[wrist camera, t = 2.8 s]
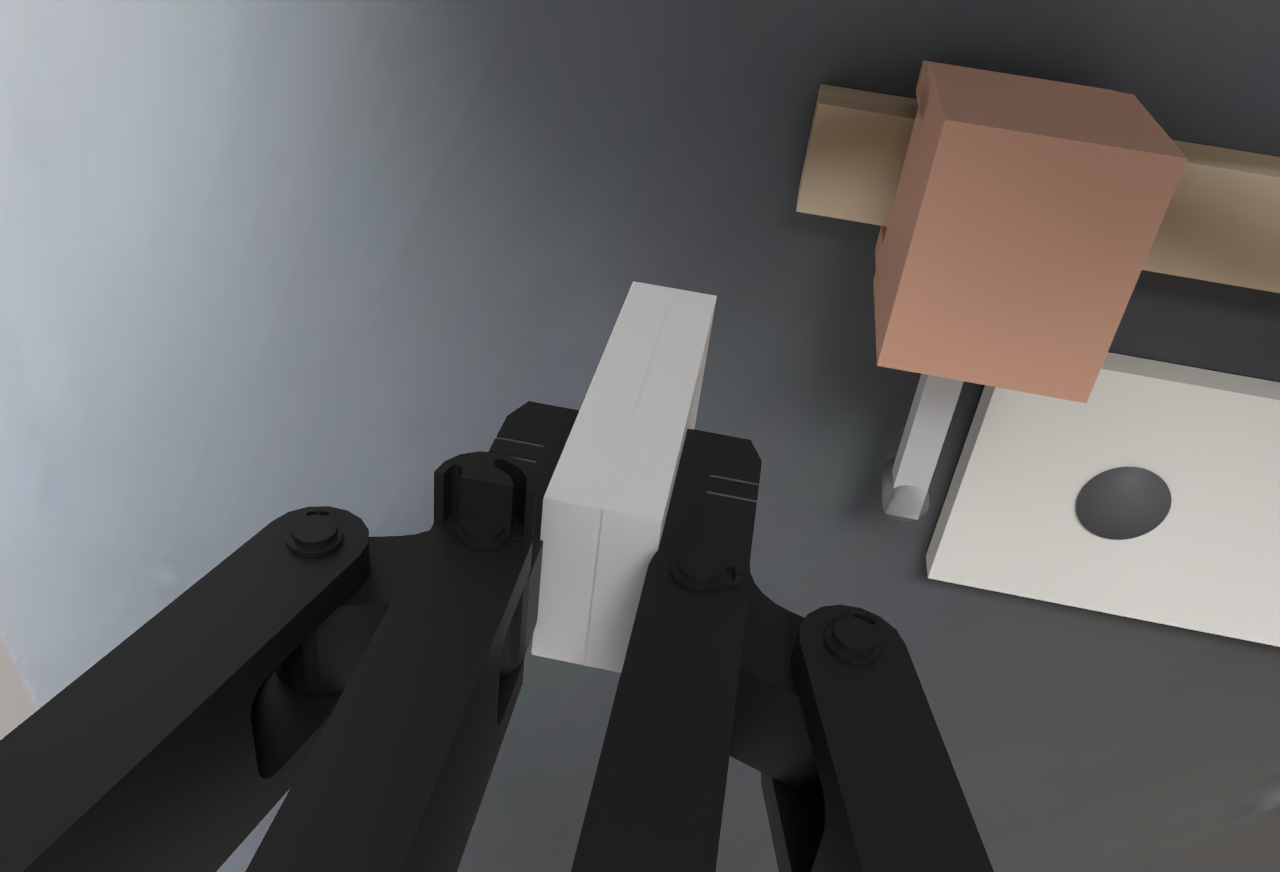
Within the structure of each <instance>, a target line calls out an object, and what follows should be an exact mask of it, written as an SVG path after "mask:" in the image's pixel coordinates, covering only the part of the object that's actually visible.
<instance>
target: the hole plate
mask: <svg viewBox="0 0 1280 872" xmlns="http://www.w3.org/2000/svg"><path fill="white" fill-rule="evenodd" d="M926 565H927V575H928V578H930V579H935V580H940V581H945V582H950V583H955V584H961V585H966V586H971V587H976V588H981V589H986V590H991V591H996V592H1002V593H1007V594H1012V595H1017V596H1022V597H1027V598H1032V599H1037V600H1043V601H1048V602H1053V603H1058V604H1063V605H1068V606H1073V607H1078V608H1084V609H1089V610H1094V611H1099V612H1104V613H1109V614H1114V615H1119V616H1125V617H1130V618H1135V619H1140V620H1145V621H1150V622H1155V623H1160V624H1166V625H1171V626H1176V627H1181V628H1186V629H1191V630H1196V631H1201V632H1207V633H1212V634H1217V635H1222V636H1227V637H1232V638H1237V639H1242V640H1248V641H1253V642H1258V643H1263V644H1268V645H1273V646H1278V647H1280V382H1274V381H1268V380H1263V379H1257V378H1251V377H1246V376H1240V375H1234V374H1229V373H1223V372H1217V371H1212V370H1206V369H1200V368H1195V367H1189V366H1183V365H1177V364H1172V363H1166V362H1160V361H1155V360H1149V359H1143V358H1138V357H1132V356H1126V355H1121V354H1115V353H1109V352H1108V353H1107V355H1106V357H1105V360H1104V362H1103V365H1102V367H1101V369H1100V372H1099V374H1098V377H1097V379H1096V381H1095V384H1094V386H1093V389H1092V391H1091V394H1090V396H1089V398H1088V401H1087V403H1082V402H1076V401H1070V400H1065V399H1059V398H1054V397H1048V396H1043V395H1037V394H1032V393H1026V392H1020V391H1015V390H1009V389H1004V388H998V387H993V386H987V385H985V387H984V389H983V392H982V395H981V398H980V401H979V404H978V407H977V410H976V413H975V415H974V418H973V421H972V424H971V427H970V430H969V433H968V436H967V439H966V441H965V444H964V447H963V450H962V453H961V456H960V459H959V462H958V464H957V467H956V470H955V473H954V476H953V479H952V482H951V485H950V488H949V490H948V493H947V496H946V499H945V502H944V505H943V508H942V511H941V513H940V516H939V519H938V522H937V525H936V528H935V531H934V534H933V537H932V539H931V542H930V545H929V548H928V551H927V554H926Z"/></svg>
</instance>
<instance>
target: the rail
mask: <svg viewBox="0 0 1280 872" xmlns="http://www.w3.org/2000/svg"><path fill="white" fill-rule="evenodd" d="M918 107H919V106H918V101H917V99H913V98H906V97H900V96H894V95H888V94H881V93H875V92H869V91H862V90H856V89H850V88H844V87H837V86H831V85H825V84H820V88H819V93H818V97H817V102H816V107H815V112H814V117H813V122H812V127H811V132H810V137H809V141H808V146H807V151H806V156H805V161H804V166H803V171H802V176H801V181H800V185H799V193H798V201H797V209H796V212H802V213H808V214H814V215H820V216H826V217H832V218H838V219H844V220H850V221H856V222H862V223H867V224H873V225H879V226H885V227H887V226H888V222H889V218H890V214H891V211H892V207H893V203H894V199H895V195H896V191H897V188H898V184H899V180H900V176H901V172H902V168H903V164H904V161H905V157H906V153H907V149H908V145H909V141H910V137H911V134H912V130H913V126H914V122H915V118H916V114H917V110H918ZM1173 142H1174V143H1175V144H1176V145H1177V146H1178V147H1179V149H1180V150H1181V151H1182V152H1183V153H1184V155H1185V156H1186V157H1187V158H1188V160H1187V162H1186V165H1185V167H1184V170H1183V172H1182V174H1181V177H1180V179H1179V182H1178V184H1177V186H1176V189H1175V191H1174V194H1173V196H1172V198H1171V201H1170V203H1169V206H1168V208H1167V211H1166V213H1165V215H1164V218H1163V220H1162V223H1161V225H1160V227H1159V230H1158V232H1157V235H1156V237H1155V239H1154V242H1153V244H1152V247H1151V249H1150V251H1149V254H1148V256H1147V259H1146V261H1145V263H1144V266H1143V268H1142V270H1145V271H1151V272H1157V273H1163V274H1169V275H1175V276H1181V277H1187V278H1192V279H1198V280H1204V281H1210V282H1216V283H1222V284H1228V285H1234V286H1240V287H1246V288H1252V289H1257V290H1263V291H1269V292H1275V293H1280V157H1277V156H1271V155H1265V154H1258V153H1252V152H1246V151H1239V150H1233V149H1227V148H1221V147H1214V146H1208V145H1202V144H1195V143H1189V142H1183V141H1177V140H1173Z"/></svg>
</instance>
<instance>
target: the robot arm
mask: <svg viewBox="0 0 1280 872" xmlns="http://www.w3.org/2000/svg"><path fill="white" fill-rule="evenodd" d="M716 298H717V296H715V295H709V294H703V293H698V292H692V291H686V290H681V289H675V288H669V287H664V286H658V285H652V284H646V283H641V282H635V281H633V283H632V285H631V288H630V290H629V292H628V295H627V297H626V300H625V302H624V304H623V307H622V309H621V312H620V314H619V316H618V319H617V321H616V324H615V326H614V329H613V331H612V333H611V336H610V338H609V341H608V343H607V345H606V348H605V350H604V353H603V355H602V357H601V360H600V362H599V365H598V367H597V370H596V372H595V374H594V377H593V379H592V382H591V384H590V386H589V389H588V391H587V394H586V396H585V399H584V401H583V403H582V406H581V408H580V411H579V410H573V409H568V408H562V407H557V406H552V405H546V404H541V403H535V402H530V401H529V402H527V403H526V404H524V405H523V406H521V407H520V408H518V409H517V410H515V411H514V412H512V413H511V414H509V415H508V416H507V417H506V419H505V421H504V423H503V425H502V427H501V429H500V431H499V433H498V435H497V439H495V440H494V442H493V444H492V446H491V448H490V450H489V452H473V453H467V454H460V455H458V456H456V457H454V458H451V459H449V460H447V461H445V462H444V463H443V464H442V465H441V466H440V467H439V468H438V469H437V470H436V471H435V472H434V524H433V526H432V528H431V530H430V531H426V532H422V533H419V534H415V535H405V536H388V537H369V530H368V529H367V527H366V526H365V524H364V523H363V521H362V519H361V518H359V517H357V516H355V515H354V514H352V513H350V512H349V511H347V510H342V509H338V508H334V507H329V506H326V507H306V508H302V509H298V510H295V511H291V512H288V513H286V514H284V515H283V516H281V517H279V518H277V519H276V520H274V521H272V522H271V523H270V524H268V525H267V526H266V527H265V528H263V529H262V530H261V531H260V532H258V533H257V534H256V535H255V536H254V537H252V538H251V539H250V540H249V541H247V542H246V543H245V544H244V545H242V546H241V547H240V548H239V549H237V550H236V551H235V552H234V553H232V554H231V555H230V556H229V557H227V558H226V559H225V560H224V561H222V562H221V563H220V564H219V565H218V566H216V567H215V568H214V569H213V570H211V571H210V572H209V573H208V574H206V575H205V576H204V577H203V578H201V579H200V580H199V581H198V582H196V583H195V584H194V585H193V586H191V587H190V588H189V589H188V590H187V591H185V592H184V593H183V594H182V595H180V596H179V597H178V598H177V599H175V600H174V601H173V602H172V603H170V604H169V605H168V606H167V607H165V608H164V609H163V610H162V611H160V612H159V613H158V614H157V615H155V616H154V617H153V618H152V619H151V620H149V621H148V622H147V623H146V624H144V625H143V626H142V627H141V628H139V629H138V630H137V631H136V632H134V633H133V634H132V635H131V636H129V637H128V638H127V639H126V640H124V641H123V642H122V643H121V644H120V645H118V646H117V647H116V648H115V649H113V650H112V651H111V652H110V653H108V654H107V655H106V656H105V657H103V658H102V659H101V660H100V661H98V662H97V663H96V664H95V665H93V666H92V667H91V668H90V669H88V670H87V671H86V672H85V673H84V674H82V675H81V676H80V677H79V678H77V679H76V680H75V681H74V682H72V683H71V684H70V685H69V686H67V687H66V688H65V689H64V690H62V691H61V692H60V693H59V694H57V695H56V696H55V697H54V698H53V699H51V700H50V701H49V702H48V703H46V704H45V705H44V706H43V707H41V708H40V709H39V710H38V711H36V712H35V713H34V714H33V715H31V716H30V717H29V718H28V719H27V720H25V721H24V722H23V723H22V724H20V725H19V726H18V727H17V728H15V729H14V730H13V731H12V732H10V733H9V734H8V735H7V736H5V737H4V738H3V739H2V740H0V872H216V871H217V870H218V869H219V868H220V867H221V866H222V864H223V863H224V862H225V861H226V860H227V859H228V858H229V856H230V855H231V854H232V853H233V852H234V851H235V850H236V849H237V847H238V846H239V845H240V844H241V843H242V842H243V841H244V839H245V838H246V837H247V836H248V835H249V834H250V833H251V832H252V830H253V829H254V828H255V827H256V826H257V825H258V824H259V823H260V821H261V820H262V819H263V818H264V817H265V816H266V815H267V813H268V812H269V811H270V810H271V809H272V808H273V807H274V806H275V804H276V803H277V802H278V801H279V800H280V799H281V798H282V796H283V795H284V794H285V793H286V792H287V791H288V790H289V789H290V787H291V786H292V787H291V789H290V790H289V792H288V794H287V796H286V798H285V800H284V801H283V803H282V805H281V807H280V809H279V811H278V813H277V814H276V816H275V818H274V820H273V822H272V824H271V826H270V827H269V829H268V831H267V833H266V835H265V837H264V838H263V840H262V842H261V844H260V846H259V848H258V850H257V851H256V853H255V855H254V857H253V859H252V861H251V863H250V864H249V866H248V868H247V870H246V872H457V869H458V867H459V864H460V861H461V858H462V855H463V852H464V849H465V846H466V844H467V841H468V838H469V835H470V832H471V829H472V826H473V824H474V821H475V818H476V815H477V812H478V809H479V806H480V804H481V801H482V798H483V795H484V792H485V789H486V786H487V783H488V781H489V778H490V775H491V772H492V769H493V766H494V763H495V761H496V758H497V755H498V752H499V749H500V746H501V743H502V740H503V738H504V735H505V732H506V729H507V726H508V723H509V720H510V718H511V715H512V712H513V709H514V706H515V703H516V700H517V698H518V695H519V692H520V689H521V686H522V682H523V669H524V657H525V654H526V651H527V648H528V645H529V643H530V640H531V637H532V634H533V640H532V654H531V655H536V656H541V657H546V658H551V659H556V660H561V661H565V662H570V663H575V664H580V665H585V666H590V667H595V668H600V669H605V670H609V671H614V672H619V673H621V676H620V680H619V684H618V688H617V692H616V696H615V700H614V704H613V708H612V712H611V716H610V719H609V723H608V727H607V731H606V735H605V739H604V743H603V747H602V751H601V755H600V759H599V763H598V767H597V771H596V775H595V779H594V783H593V787H592V791H591V795H590V799H589V803H588V807H587V811H586V815H585V819H584V823H583V827H582V831H581V835H580V839H579V843H578V847H577V851H576V854H575V858H574V862H573V866H572V870H571V872H715V870H716V862H717V853H718V845H719V837H720V829H721V820H722V812H723V804H724V796H725V787H726V779H727V771H728V763H729V755H730V756H732V757H734V758H735V759H737V760H739V761H741V762H743V763H745V764H747V765H749V766H751V767H753V768H755V769H757V770H759V771H761V784H762V789H763V794H764V799H765V804H766V809H767V814H768V819H769V824H770V829H771V834H772V839H773V844H774V849H775V854H776V859H777V864H778V869H779V872H994V871H993V869H992V866H991V863H990V861H989V858H988V856H987V853H986V851H985V848H984V845H983V843H982V840H981V838H980V835H979V833H978V830H977V827H976V825H975V822H974V820H973V817H972V814H971V812H970V809H969V807H968V804H967V802H966V799H965V796H964V794H963V791H962V789H961V786H960V784H959V781H958V778H957V776H956V773H955V771H954V768H953V766H952V763H951V760H950V758H949V755H948V753H947V750H946V748H945V745H944V742H943V740H942V737H941V735H940V732H939V730H938V727H937V724H936V722H935V719H934V717H933V714H932V711H931V709H930V706H929V704H928V701H927V699H926V696H925V693H924V691H923V688H922V686H921V683H920V681H919V678H918V675H917V673H916V670H915V668H914V665H913V663H912V660H911V657H910V655H909V652H908V650H907V647H906V645H905V643H904V641H903V640H902V638H901V637H900V635H899V634H898V632H897V631H896V629H895V628H893V627H892V626H891V625H890V624H888V623H887V622H886V621H885V620H883V619H882V618H881V617H879V616H877V615H875V614H873V613H870V612H868V611H866V610H864V609H861V608H856V607H851V606H845V605H834V606H825V607H821V608H819V609H817V610H815V611H813V612H811V613H809V614H807V616H806V617H805V618H803V617H801V616H799V615H797V614H795V613H792V612H790V611H788V610H786V609H784V608H783V607H781V606H779V605H777V604H775V603H774V602H773V601H771V600H770V599H769V598H768V597H766V596H765V595H764V594H763V593H762V592H761V591H760V589H759V588H758V587H757V586H756V584H755V583H754V580H753V578H752V576H751V573H750V563H749V562H750V554H751V546H752V537H753V529H754V521H755V512H756V504H757V503H756V502H757V496H758V488H759V479H760V471H761V463H762V461H761V459H760V457H759V455H758V453H757V451H756V449H755V447H754V446H753V444H752V442H751V440H747V439H742V438H736V437H731V436H726V435H720V434H715V433H709V432H704V431H699V430H694V428H695V423H696V417H697V411H698V405H699V399H700V393H701V387H702V381H703V375H704V369H705V364H706V358H707V352H708V346H709V340H710V334H711V328H712V322H713V316H714V310H715V304H716Z"/></svg>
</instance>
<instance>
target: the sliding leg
mask: <svg viewBox="0 0 1280 872" xmlns="http://www.w3.org/2000/svg"><path fill="white" fill-rule="evenodd" d="M916 96H917V101H918V106H919V107H918V110H917V114H916V118H915V122H914V126H913V130H912V134H911V137H910V141H909V145H908V149H907V153H906V157H905V161H904V164H903V168H902V172H901V176H900V180H899V184H898V188H897V191H896V195H895V199H894V203H893V207H892V211H891V214H890V218H889V222H888V226H887V227H885V226H881V228H880V232H879V236H878V240H877V244H876V248H875V262H876V272H875V276H874V280H873V283H874V306H875V329H876V353H877V366H881V367H887V368H893V369H898V370H904V371H909V372H915V373H920V374H921V377H920V380H919V383H918V386H917V390H916V393H915V396H914V400H913V403H912V406H911V409H910V413H909V416H908V419H907V423H906V426H905V429H904V432H903V436H902V439H901V442H900V446H899V449H898V452H897V455H896V457H895V458H892V459H890V460H889V461H887V462H886V463H885V465H884V466H883V468H882V470H881V489H882V507H883V510H884V512H885V514H886V515H887V516H888V517H890V518H891V519H893V520H895V521H899V522H913V521H916V520H918V519H920V518H921V517H923V516H924V515H925V514H926V513H927V511H928V509H929V494H928V488H929V485H930V482H931V479H932V476H933V473H934V470H935V467H936V464H937V461H938V458H939V455H940V452H941V449H942V446H943V443H944V440H945V437H946V434H947V431H948V428H949V425H950V422H951V419H952V416H953V413H954V410H955V407H956V404H957V401H958V398H959V395H960V392H961V389H962V386H963V383H964V381H965V382H970V383H976V384H981V385H987V386H993V387H998V388H1004V389H1009V390H1015V391H1020V392H1026V393H1032V394H1037V395H1043V396H1048V397H1054V398H1059V399H1065V400H1070V401H1076V402H1082V403H1087V401H1088V398H1089V396H1090V394H1091V391H1092V389H1093V386H1094V384H1095V381H1096V379H1097V377H1098V374H1099V372H1100V369H1101V367H1102V365H1103V362H1104V360H1105V357H1106V355H1107V353H1108V350H1109V348H1110V345H1111V343H1112V341H1113V338H1114V336H1115V333H1116V331H1117V329H1118V326H1119V324H1120V321H1121V319H1122V316H1123V314H1124V312H1125V309H1126V307H1127V304H1128V302H1129V300H1130V297H1131V295H1132V292H1133V290H1134V288H1135V285H1136V283H1137V280H1138V278H1139V276H1140V273H1141V271H1142V268H1143V266H1144V263H1145V261H1146V259H1147V256H1148V254H1149V251H1150V249H1151V247H1152V244H1153V242H1154V239H1155V237H1156V235H1157V232H1158V230H1159V227H1160V225H1161V223H1162V220H1163V218H1164V215H1165V213H1166V211H1167V208H1168V206H1169V203H1170V201H1171V198H1172V196H1173V194H1174V191H1175V189H1176V186H1177V184H1178V182H1179V179H1180V177H1181V174H1182V172H1183V170H1184V167H1185V165H1186V162H1187V160H1188V158H1187V157H1186V156H1185V155H1184V153H1183V152H1182V151H1181V150H1180V149H1179V147H1178V146H1177V145H1176V144H1175V143H1174V142H1173V140H1172V139H1171V138H1170V137H1169V136H1168V134H1167V133H1166V132H1165V131H1164V130H1163V129H1162V127H1161V126H1160V125H1159V124H1158V123H1157V121H1156V120H1155V119H1154V118H1153V117H1152V115H1151V114H1150V113H1149V112H1148V111H1147V110H1146V108H1145V107H1144V106H1143V105H1142V104H1141V102H1140V101H1139V100H1138V99H1137V98H1136V97H1135V95H1134V94H1128V93H1122V92H1117V91H1115V90H1109V89H1103V88H1096V87H1090V86H1083V85H1077V84H1071V83H1064V82H1058V81H1051V80H1045V79H1039V78H1032V77H1026V76H1019V75H1013V74H1007V73H1000V72H994V71H987V70H981V69H975V68H968V67H962V66H955V65H949V64H943V63H936V62H930V61H923V64H922V68H921V72H920V76H919V79H918V83H917V87H916Z"/></svg>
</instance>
